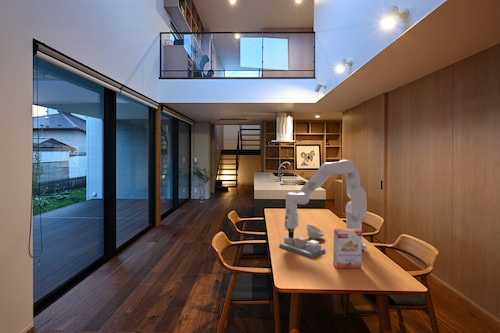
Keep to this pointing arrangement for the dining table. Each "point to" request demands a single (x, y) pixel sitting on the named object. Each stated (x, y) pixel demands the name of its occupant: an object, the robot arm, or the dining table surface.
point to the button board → (302, 248)
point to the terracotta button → (301, 239)
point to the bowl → (314, 232)
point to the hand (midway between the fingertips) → (291, 237)
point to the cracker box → (347, 248)
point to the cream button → (313, 243)
